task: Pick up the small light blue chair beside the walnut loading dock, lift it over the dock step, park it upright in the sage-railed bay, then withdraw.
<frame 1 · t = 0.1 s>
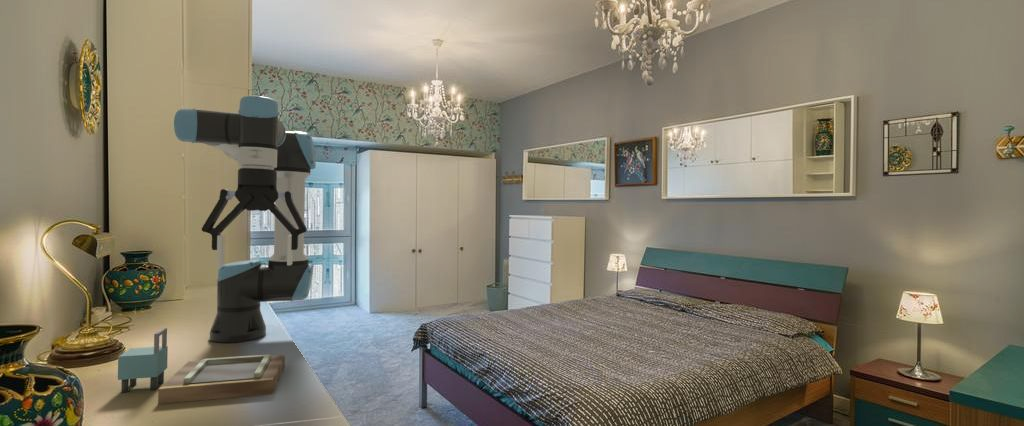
hand: (255, 265, 103), 28 cm above the table, fingers open, 13 cm apart
dock: (228, 383, 108), on the table
light blue chair: (143, 387, 104), on the table
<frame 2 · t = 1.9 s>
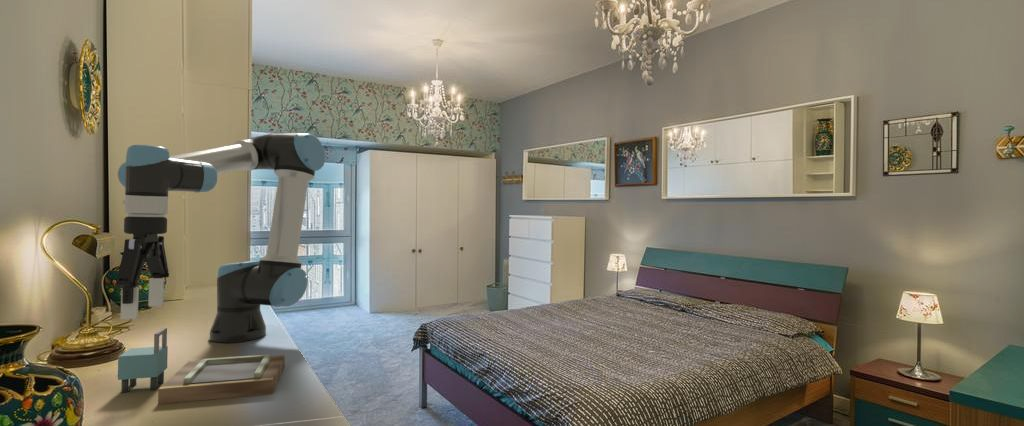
hand: (143, 312, 104), 17 cm above the table, fingers open, 13 cm apart
nothing on the table moved.
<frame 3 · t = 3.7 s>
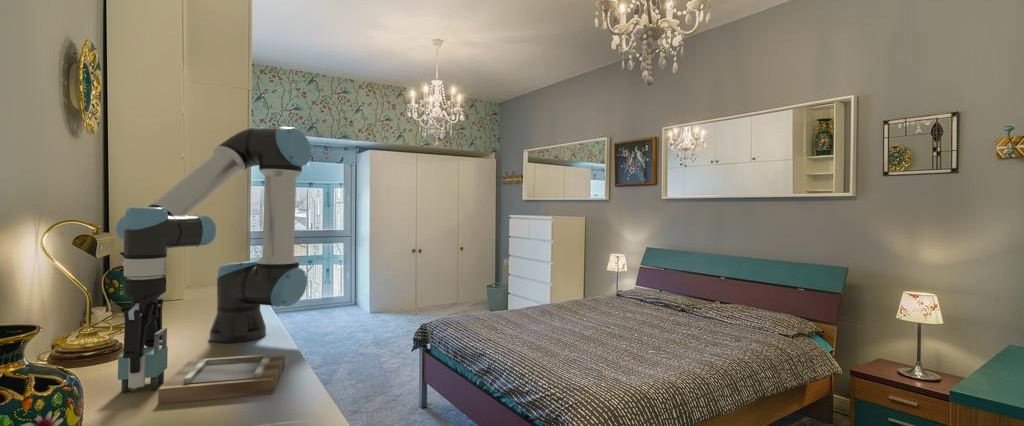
hand: (143, 380, 104), 1 cm above the table, fingers closed on light blue chair, 6 cm apart
light blue chair: (143, 387, 104), on the table, touching gripper
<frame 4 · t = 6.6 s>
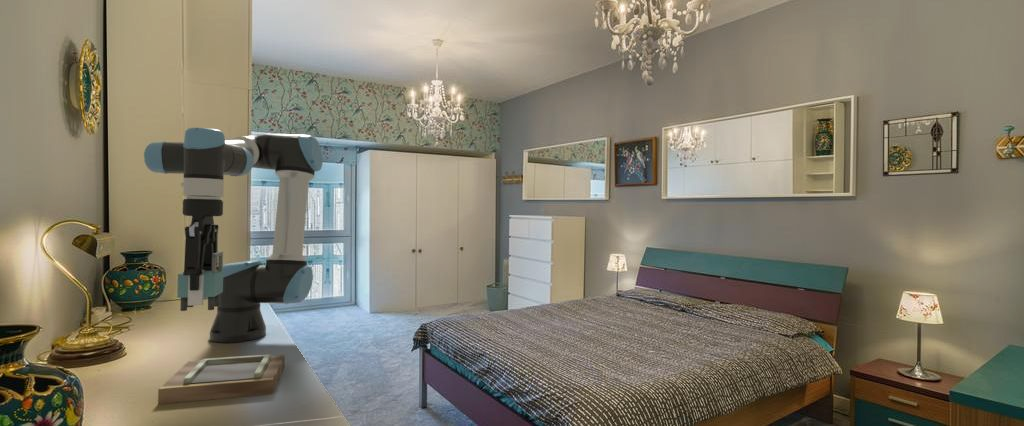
hand: (201, 301, 105), 19 cm above the table, fingers closed on light blue chair, 6 cm apart
light blue chair: (200, 308, 105), point 18 cm above the table, touching gripper
when the fingers open (6 cm above the table, at t = 9.8 s): light blue chair drops 1 cm, resting on dock.
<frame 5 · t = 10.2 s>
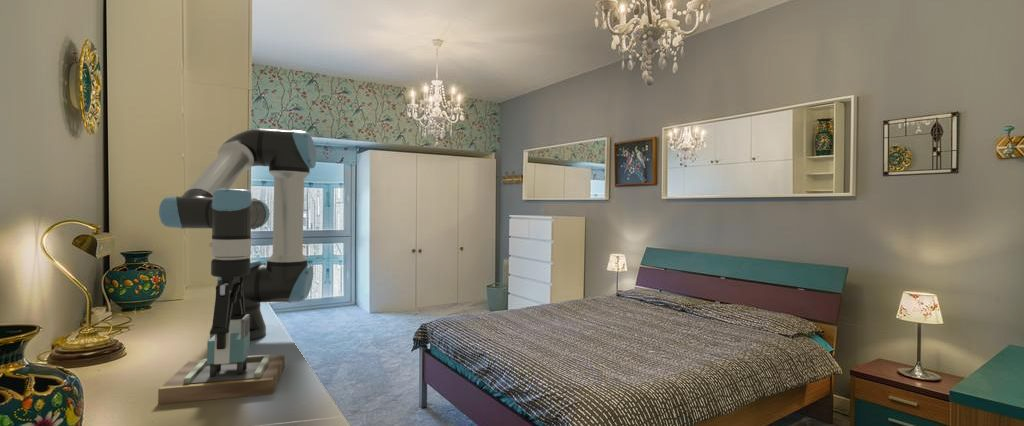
hand: (229, 354, 106), 7 cm above the table, fingers open, 11 cm apart
light blue chair: (228, 372, 106), point 3 cm above the table, touching dock
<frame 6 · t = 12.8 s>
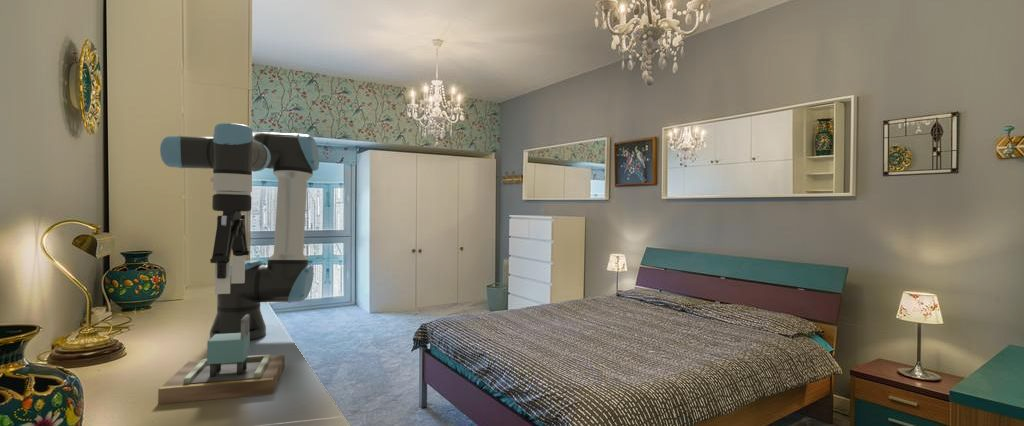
hand: (230, 288, 106), 22 cm above the table, fingers open, 13 cm apart
nothing on the table moved.
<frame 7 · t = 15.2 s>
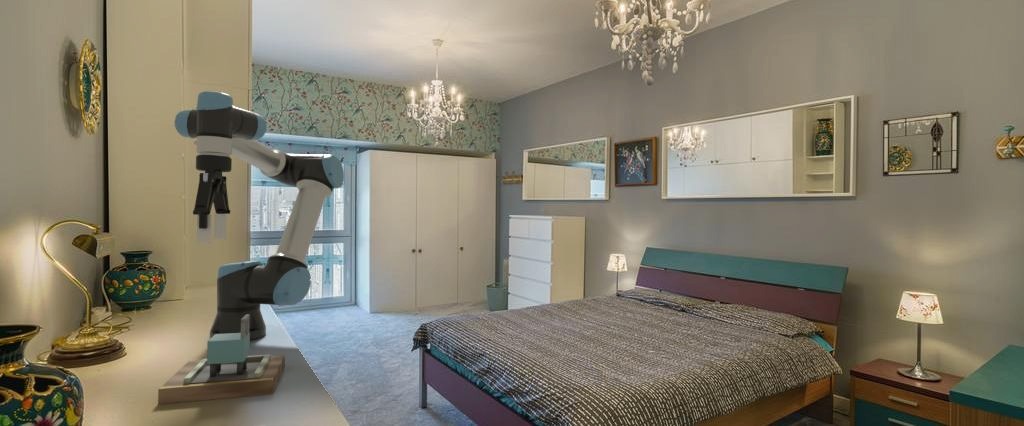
hand: (212, 240, 117), 32 cm above the table, fingers open, 13 cm apart
nothing on the table moved.
at the end: light blue chair inside the target area (0.0 cm from its centre), point 3.2 cm above the table; light blue chair tilted 0°; the gripper is holding nothing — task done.
